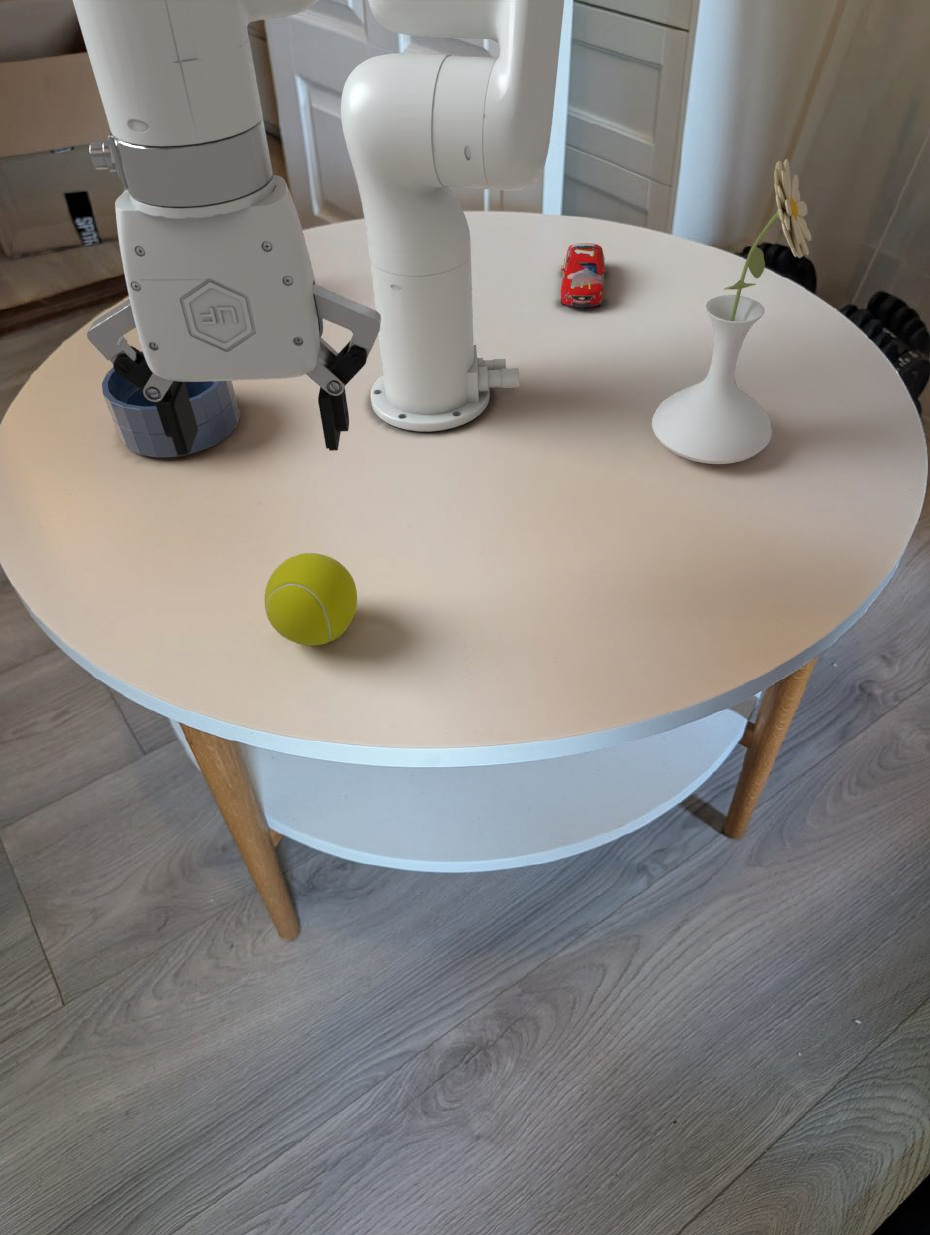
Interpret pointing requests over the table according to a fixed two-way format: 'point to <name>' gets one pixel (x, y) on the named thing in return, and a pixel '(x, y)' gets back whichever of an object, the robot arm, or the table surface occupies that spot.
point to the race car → (583, 275)
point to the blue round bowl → (143, 422)
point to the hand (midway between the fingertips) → (261, 441)
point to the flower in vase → (731, 359)
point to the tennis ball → (310, 599)
